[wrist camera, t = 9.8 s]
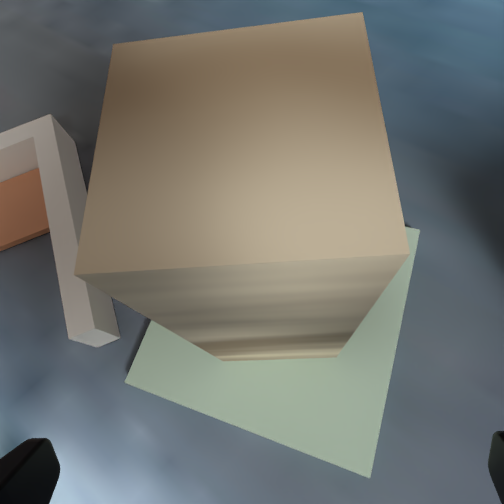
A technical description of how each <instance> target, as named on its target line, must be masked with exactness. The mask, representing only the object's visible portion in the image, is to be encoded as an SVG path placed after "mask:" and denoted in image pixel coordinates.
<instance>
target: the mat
mask: <svg viewBox="0 0 504 504" xmlns="http://www.w3.org/2000/svg"><path fill="white" fill-rule="evenodd" d="M405 230H406V235H407V240H408V245H409V250H410V255H409V256H408V258H407V259H406V261H405V262H404V263H403V265H402V266H401V268H400V269H399V270H398V272H397V273H396V275H395V276H394V277H393V279H392V280H391V282H390V283H389V284H388V286H387V287H386V289H385V290H384V291H383V293H382V294H381V296H380V297H379V298H378V300H377V301H376V303H375V304H374V305H373V307H372V308H371V310H370V311H369V312H368V314H367V315H366V317H365V318H364V319H363V321H362V322H361V324H360V325H359V326H358V328H357V329H356V331H355V332H354V333H353V335H352V336H351V338H350V339H349V340H348V342H347V343H346V344H345V346H344V347H343V349H342V350H341V351H340V353H339V354H338V356H337V357H332V358H304V359H275V360H247V361H222V360H220V359H218V358H216V357H215V356H213V355H211V354H209V353H208V352H206V351H204V350H203V349H201V348H199V347H197V346H196V345H194V344H192V343H190V342H189V341H187V340H185V339H184V338H182V337H180V336H178V335H177V334H175V333H173V332H171V331H170V330H168V329H166V328H165V327H163V326H161V325H159V324H158V323H156V322H154V321H152V320H151V322H150V324H149V327H148V329H147V331H146V334H145V336H144V338H143V340H142V343H141V345H140V347H139V350H138V352H137V354H136V357H135V359H134V361H133V364H132V366H131V368H130V371H129V373H128V375H127V378H126V380H125V382H124V383H127V384H129V385H132V386H134V387H137V388H139V389H142V390H145V391H147V392H150V393H152V394H155V395H157V396H160V397H163V398H165V399H168V400H170V401H173V402H175V403H178V404H181V405H183V406H186V407H188V408H191V409H193V410H196V411H199V412H201V413H204V414H206V415H209V416H211V417H214V418H216V419H219V420H222V421H224V422H227V423H229V424H232V425H234V426H237V427H240V428H242V429H245V430H247V431H250V432H252V433H255V434H258V435H260V436H263V437H265V438H268V439H270V440H273V441H276V442H278V443H281V444H283V445H286V446H288V447H291V448H293V449H296V450H299V451H301V452H304V453H306V454H309V455H311V456H314V457H317V458H319V459H322V460H324V461H327V462H329V463H332V464H335V465H337V466H340V467H342V468H345V469H347V470H350V471H352V472H355V473H358V474H360V475H363V476H365V477H368V478H370V476H371V471H372V466H373V461H374V456H375V451H376V446H377V441H378V436H379V431H380V426H381V421H382V416H383V411H384V407H385V402H386V397H387V392H388V387H389V382H390V377H391V372H392V367H393V362H394V357H395V352H396V347H397V342H398V337H399V332H400V327H401V322H402V317H403V312H404V307H405V302H406V297H407V292H408V287H409V282H410V277H411V272H412V267H413V262H414V257H415V252H416V247H417V242H418V237H419V233H420V230H418V229H413V228H409V227H405Z"/></svg>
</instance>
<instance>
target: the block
mask: <svg viewBox="0 0 504 504" xmlns="http://www.w3.org/2000/svg"><path fill="white" fill-rule="evenodd" d="M409 255H410V250H409V245H408V240H407V235H406V230H405V225H404V219H403V214H402V209H401V204H400V199H399V194H398V189H397V184H396V179H395V174H394V169H393V164H392V159H391V154H390V149H389V144H388V139H387V134H386V129H385V124H384V118H383V113H382V108H381V103H380V98H379V93H378V88H377V83H376V78H375V73H374V68H373V63H372V58H371V53H370V48H369V43H368V38H367V33H366V28H365V23H364V17H363V12H361V13H353V14H345V15H337V16H329V17H322V18H314V19H306V20H298V21H291V22H283V23H275V24H267V25H259V26H252V27H244V28H236V29H228V30H221V31H213V32H205V33H197V34H189V35H182V36H174V37H166V38H158V39H150V40H143V41H135V42H127V43H119V44H113V49H112V55H111V60H110V66H109V72H108V78H107V84H106V89H105V95H104V101H103V107H102V113H101V118H100V124H99V130H98V136H97V142H96V147H95V153H94V159H93V165H92V171H91V176H90V182H89V188H88V194H87V200H86V206H85V211H84V217H83V223H82V229H81V235H80V240H79V246H78V252H77V258H76V264H75V269H74V275H75V276H76V277H78V278H80V279H82V280H83V281H85V282H87V283H89V284H90V285H92V286H94V287H95V288H97V289H99V290H101V291H102V292H104V293H106V294H108V295H109V296H111V297H113V298H114V299H116V300H118V301H120V302H121V303H123V304H125V305H127V306H128V307H130V308H132V309H133V310H135V311H137V312H139V313H140V314H142V315H144V316H146V317H147V318H149V319H151V320H152V321H154V322H156V323H158V324H159V325H161V326H163V327H165V328H166V329H168V330H170V331H171V332H173V333H175V334H177V335H178V336H180V337H182V338H184V339H185V340H187V341H189V342H190V343H192V344H194V345H196V346H197V347H199V348H201V349H203V350H204V351H206V352H208V353H209V354H211V355H213V356H215V357H216V358H218V359H220V360H222V361H247V360H275V359H304V358H332V357H337V356H338V354H339V353H340V351H341V350H342V349H343V347H344V346H345V344H346V343H347V342H348V340H349V339H350V338H351V336H352V335H353V333H354V332H355V331H356V329H357V328H358V326H359V325H360V324H361V322H362V321H363V319H364V318H365V317H366V315H367V314H368V312H369V311H370V310H371V308H372V307H373V305H374V304H375V303H376V301H377V300H378V298H379V297H380V296H381V294H382V293H383V291H384V290H385V289H386V287H387V286H388V284H389V283H390V282H391V280H392V279H393V277H394V276H395V275H396V273H397V272H398V270H399V269H400V268H401V266H402V265H403V263H404V262H405V261H406V259H407V258H408V256H409Z"/></svg>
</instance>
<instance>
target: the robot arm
mask: <svg viewBox="0 0 504 504" xmlns="http://www.w3.org/2000/svg"><path fill="white" fill-rule="evenodd" d="M488 468H489V472H490V476H491V478H492V481H493V483H494V486H495V488H496V491H497V493H498V496H499V498H500V501H501V503H502V504H504V431H497V432H495V433H494V434H493V437H492V443H491V448H490V454H489V459H488ZM59 474H60V464H59V461H58V459H57V456H56V454H55V451H54V449H53V446H52V443H51V442H50V440H48V439H47V438H31V439H28V440H26V441H24V442H23V443H21V444H20V445H19V446H17V447H16V448H15V449H13V450H12V451H10V452H9V453H8V454H6V455H5V456H4V457H2V458H1V459H0V504H49V502H50V500H51V497H52V494H53V492H54V489H55V486H56V484H57V481H58V478H59Z"/></svg>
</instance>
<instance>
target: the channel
mask: <svg viewBox="0 0 504 504" xmlns="http://www.w3.org/2000/svg"><path fill="white" fill-rule="evenodd" d="M86 200H87V191H86V187H85V183H84V179H83V174H82V170H81V166H80V161H79V157H78V153H77V148H76V144H75V142H74V140H73V139H72V138H71V137H70V136H69V135H68V133H67V132H66V131H65V130H64V129H63V128H62V126H61V125H60V124H59V123H58V122H57V121H56V119H55V118H54V117H53V116H52V115H51V114H49V115H46V116H44V117H41V118H38V119H36V120H33V121H31V122H28V123H25V124H23V125H20V126H18V127H15V128H12V129H10V130H7V131H5V132H2V133H0V251H2V250H5V249H7V248H10V247H12V246H15V245H18V244H20V243H23V242H25V241H28V240H30V239H33V238H35V237H38V236H40V235H43V234H45V233H48V232H50V235H51V240H52V246H53V252H54V258H55V263H56V269H57V275H58V281H59V286H60V292H61V298H62V304H63V309H64V315H65V321H66V327H67V332H68V338H69V339H70V340H74V341H77V342H81V343H84V344H88V345H91V346H94V347H100V346H102V345H105V344H107V343H110V342H112V341H115V340H117V339H120V338H121V337H120V333H119V329H118V324H117V320H116V316H115V311H114V307H113V303H112V299H111V296H109V295H108V294H106V293H104V292H102V291H101V290H99V289H97V288H95V287H94V286H92V285H90V284H89V283H87V282H85V281H83V280H82V279H80V278H78V277H76V276H75V275H74V269H75V264H76V258H77V252H78V246H79V240H80V235H81V229H82V223H83V217H84V211H85V206H86Z"/></svg>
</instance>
